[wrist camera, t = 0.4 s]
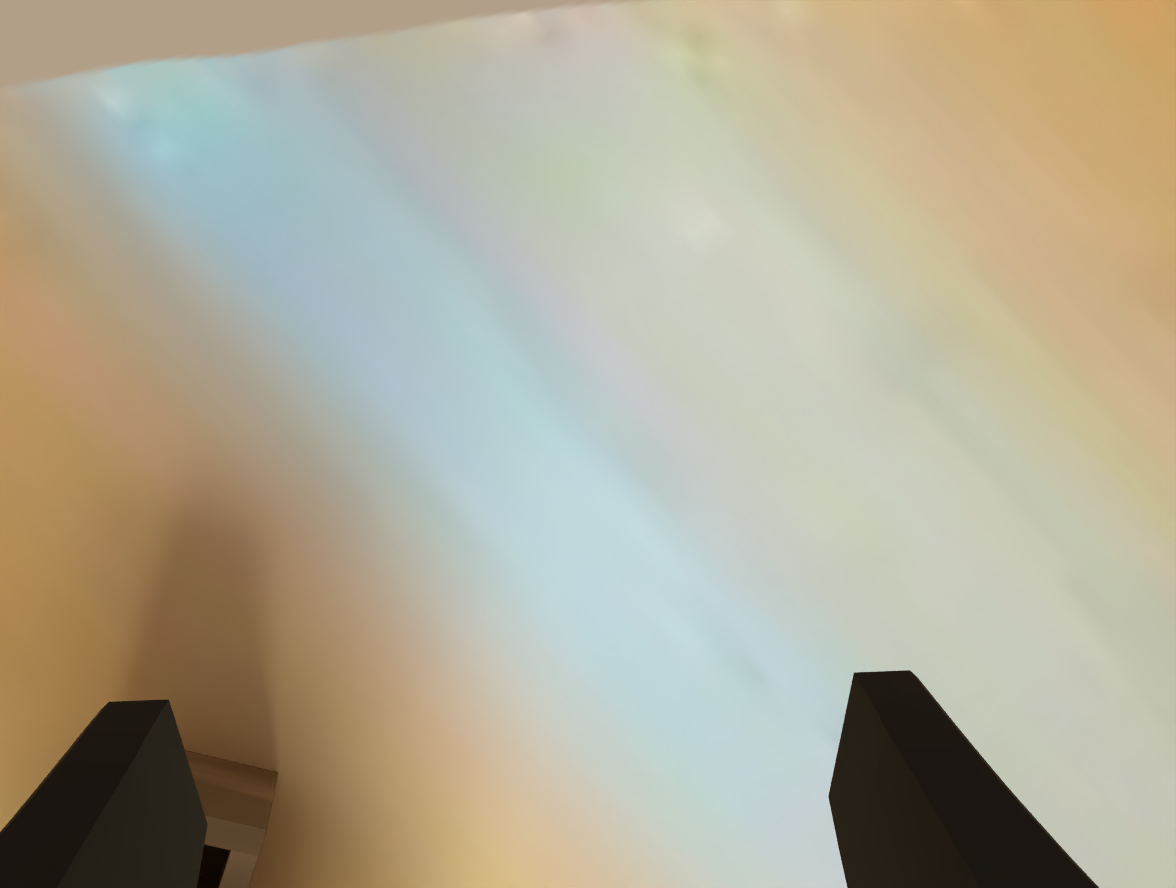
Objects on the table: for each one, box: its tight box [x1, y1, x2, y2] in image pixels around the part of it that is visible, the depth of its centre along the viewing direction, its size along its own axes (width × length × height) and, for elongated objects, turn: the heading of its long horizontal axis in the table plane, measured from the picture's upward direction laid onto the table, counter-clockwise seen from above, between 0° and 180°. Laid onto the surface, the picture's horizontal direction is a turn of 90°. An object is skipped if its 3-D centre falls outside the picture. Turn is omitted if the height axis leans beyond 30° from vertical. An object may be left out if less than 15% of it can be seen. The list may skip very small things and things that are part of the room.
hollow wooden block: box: [185, 751, 278, 888], centre depth 32 cm, size 4×4×6 cm
